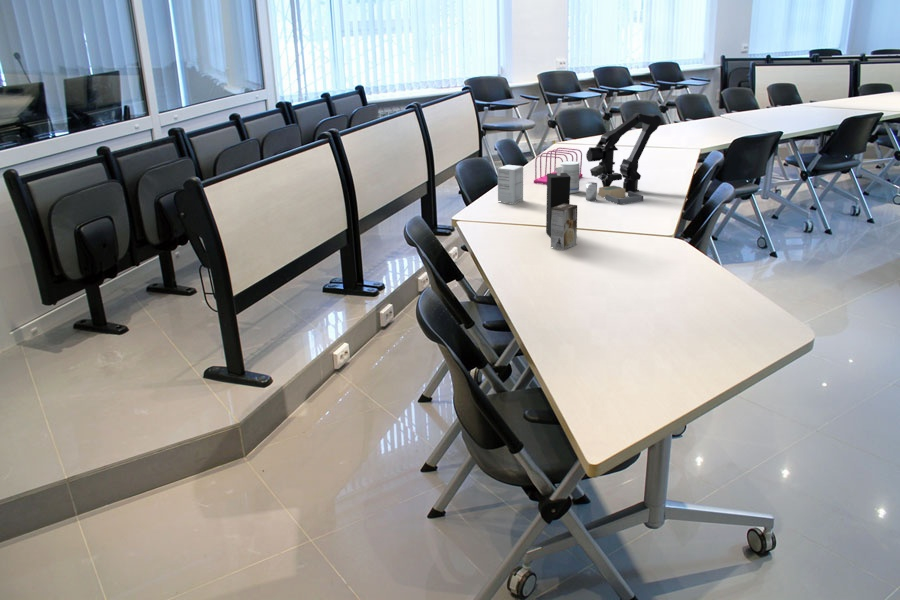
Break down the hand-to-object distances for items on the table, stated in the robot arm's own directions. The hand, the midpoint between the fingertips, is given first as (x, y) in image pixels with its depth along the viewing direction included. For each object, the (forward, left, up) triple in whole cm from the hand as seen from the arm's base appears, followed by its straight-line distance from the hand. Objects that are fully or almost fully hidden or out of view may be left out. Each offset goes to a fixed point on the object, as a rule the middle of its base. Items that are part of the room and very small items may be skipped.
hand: (605, 191), depth 360 cm
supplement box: (+48, -10, -2) cm, 49 cm away
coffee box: (+63, +65, -2) cm, 90 cm away
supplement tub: (+13, -13, -2) cm, 18 cm away
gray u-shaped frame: (0, +16, -1) cm, 16 cm away
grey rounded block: (+13, +7, -1) cm, 15 cm away
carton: (+1, +6, -2) cm, 7 cm away
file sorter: (+4, -39, -2) cm, 40 cm away
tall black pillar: (+57, +50, -2) cm, 76 cm away
